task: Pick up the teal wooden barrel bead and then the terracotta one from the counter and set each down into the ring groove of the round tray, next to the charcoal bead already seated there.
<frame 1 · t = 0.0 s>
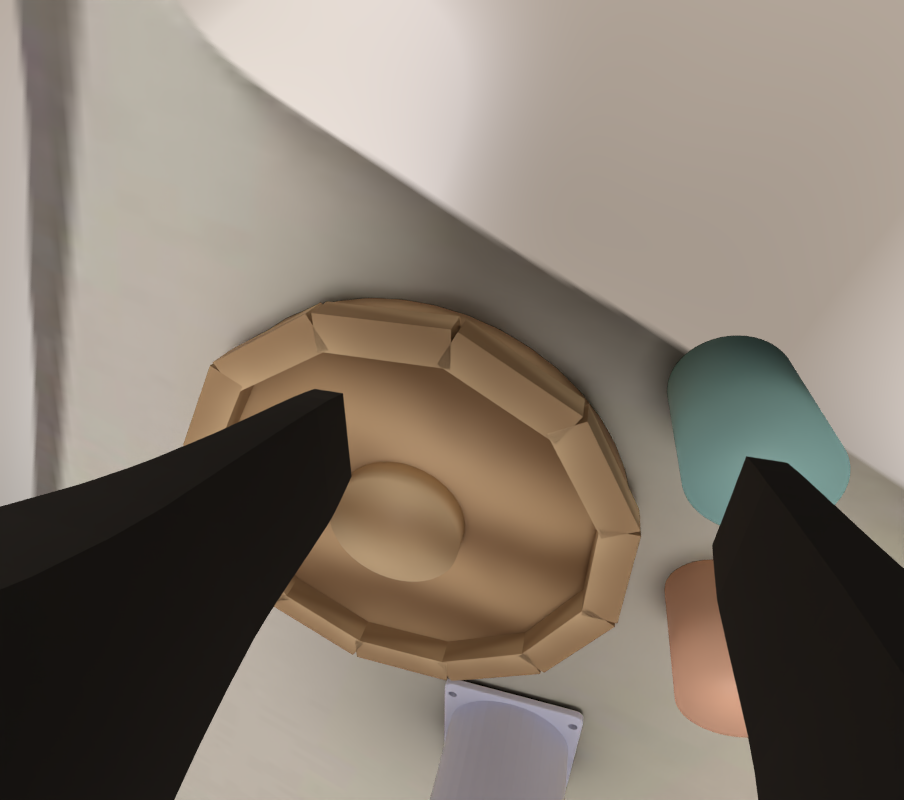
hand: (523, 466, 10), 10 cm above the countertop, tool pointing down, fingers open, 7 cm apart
tray: (408, 500, 25), on the countertop
bead teal: (728, 388, 18), on the countertop
bead terracotta: (713, 593, 23), on the countertop
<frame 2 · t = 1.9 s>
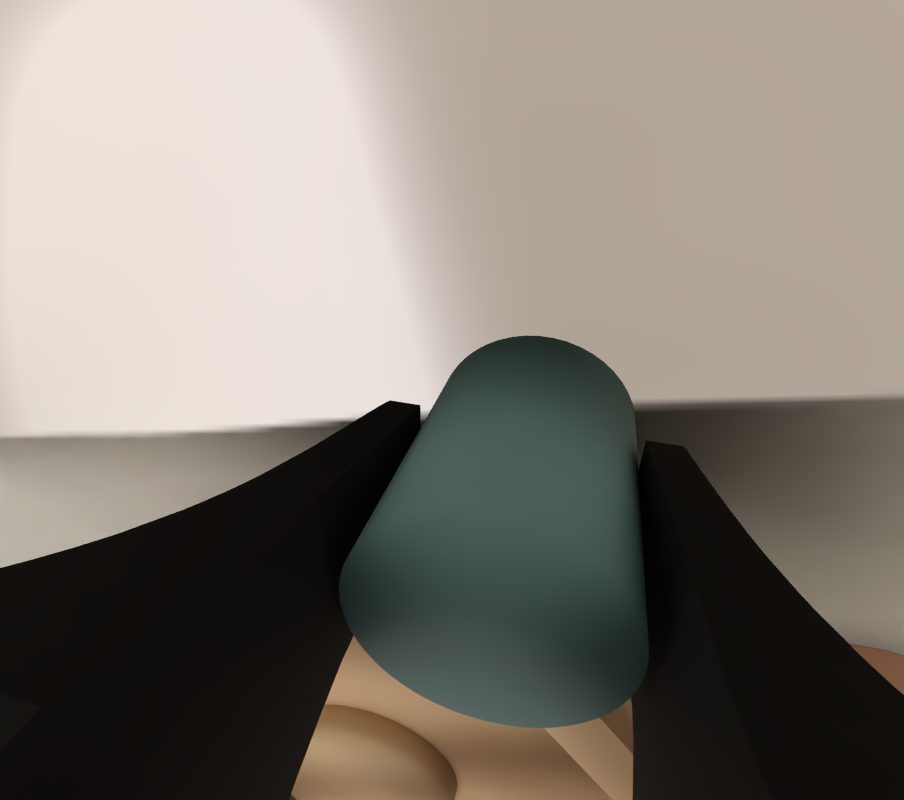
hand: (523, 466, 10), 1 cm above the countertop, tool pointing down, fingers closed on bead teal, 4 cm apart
tray: (383, 729, 19), on the countertop
bead teal: (533, 425, 11), on the countertop, touching gripper
bead terracotta: (842, 700, 13), on the countertop
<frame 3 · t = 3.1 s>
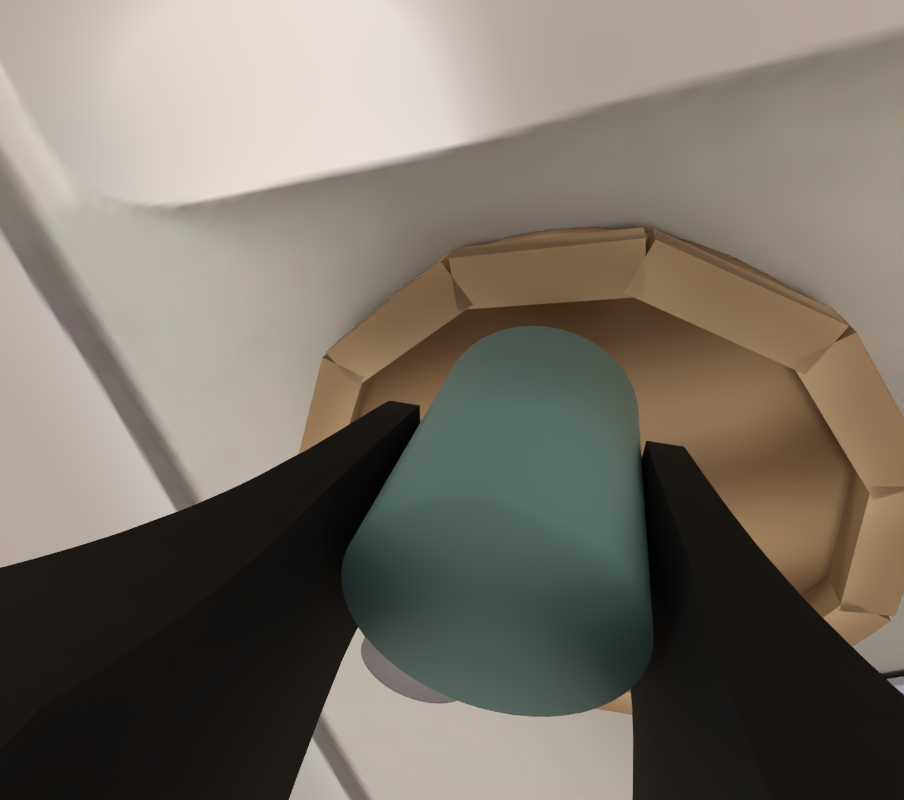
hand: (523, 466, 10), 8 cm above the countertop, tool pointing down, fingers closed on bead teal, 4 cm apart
tray: (570, 494, 20), on the countertop
bead charcoal: (452, 559, 22), point 1 cm above the countertop, touching tray
bead teal: (535, 416, 11), point 7 cm above the countertop, touching gripper
when the fingers open (3 cm above the countertop, at t = 4.7 s): bead teal stays where it is, resting on tray.
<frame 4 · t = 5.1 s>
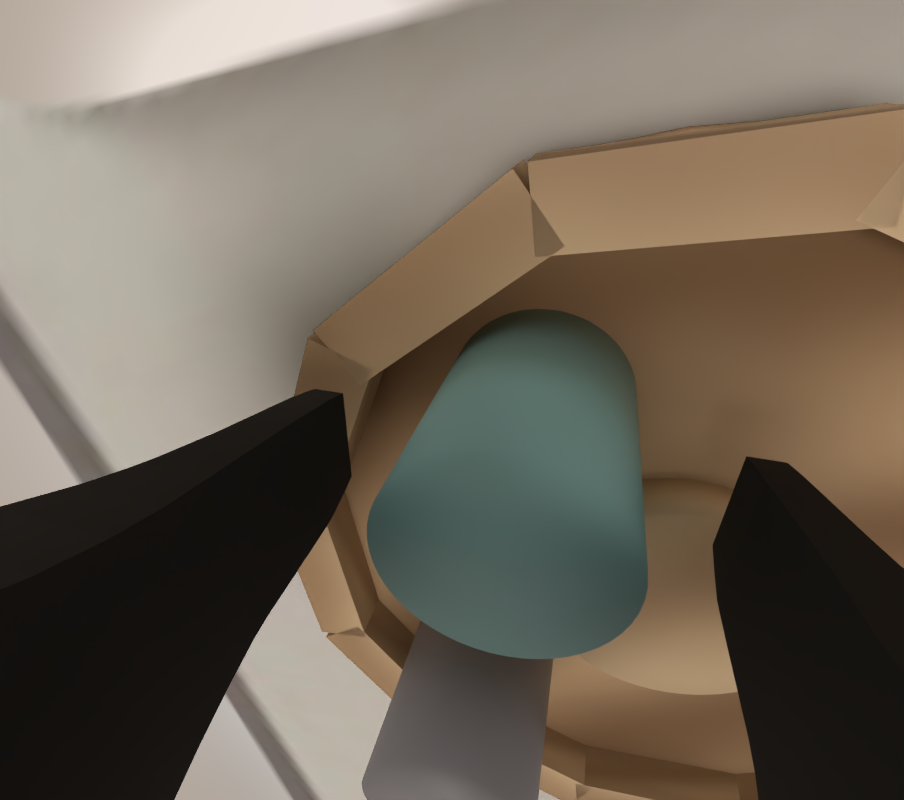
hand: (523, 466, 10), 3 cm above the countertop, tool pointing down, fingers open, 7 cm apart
tray: (666, 544, 14), on the countertop
bead charcoal: (488, 625, 16), point 1 cm above the countertop, touching tray
bead teal: (540, 395, 12), point 1 cm above the countertop, touching tray
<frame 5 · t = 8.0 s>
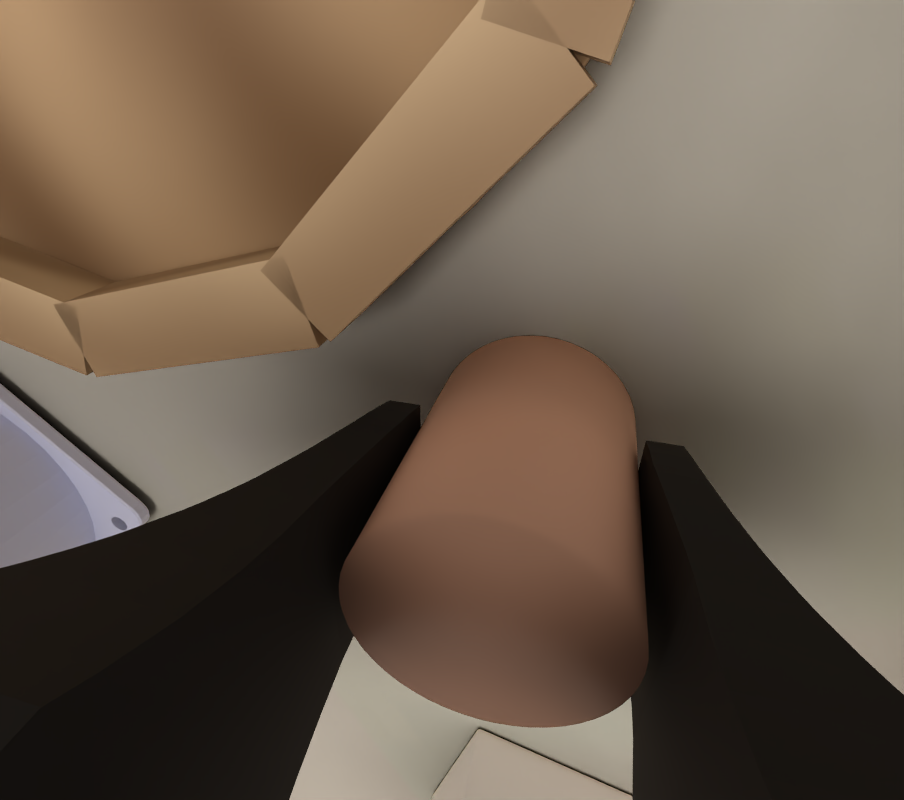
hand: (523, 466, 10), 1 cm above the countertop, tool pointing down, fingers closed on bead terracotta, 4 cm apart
bead terracotta: (533, 425, 11), on the countertop, touching gripper
milk: (531, 791, 19), on the countertop
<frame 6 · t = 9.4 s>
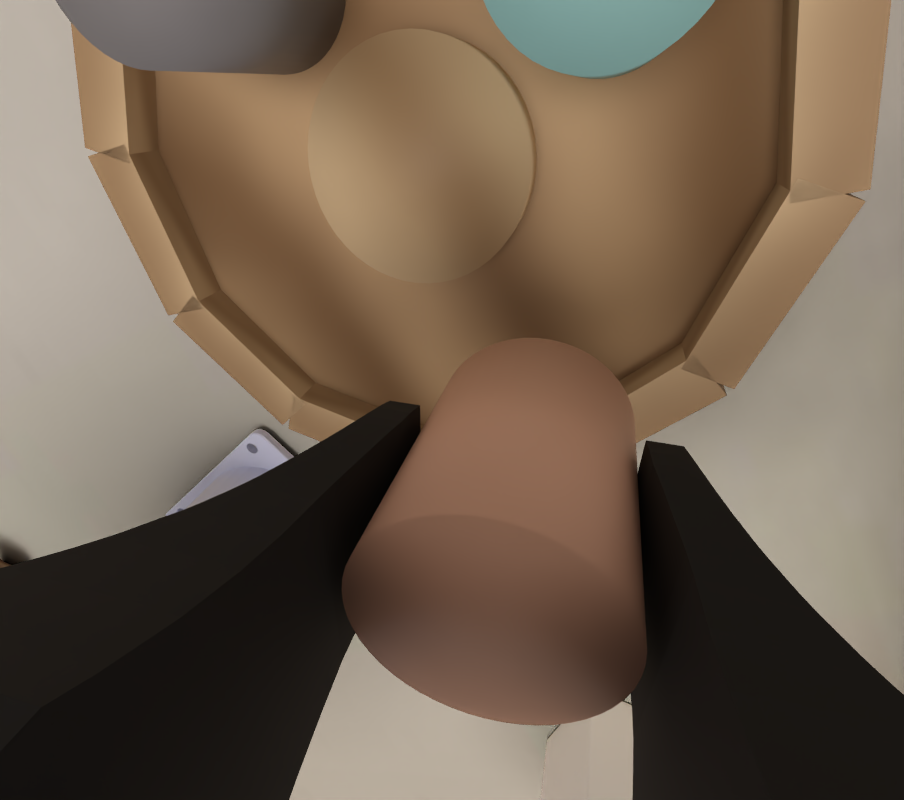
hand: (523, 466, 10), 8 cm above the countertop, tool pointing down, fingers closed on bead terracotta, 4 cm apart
tray: (438, 160, 15), on the countertop
bead terracotta: (533, 426, 11), point 7 cm above the countertop, touching gripper
milk: (621, 733, 27), on the countertop
when the fingers open (3 cm above the countertop, at t = 10.7 s): bead terracotta stays where it is, resting on tray.
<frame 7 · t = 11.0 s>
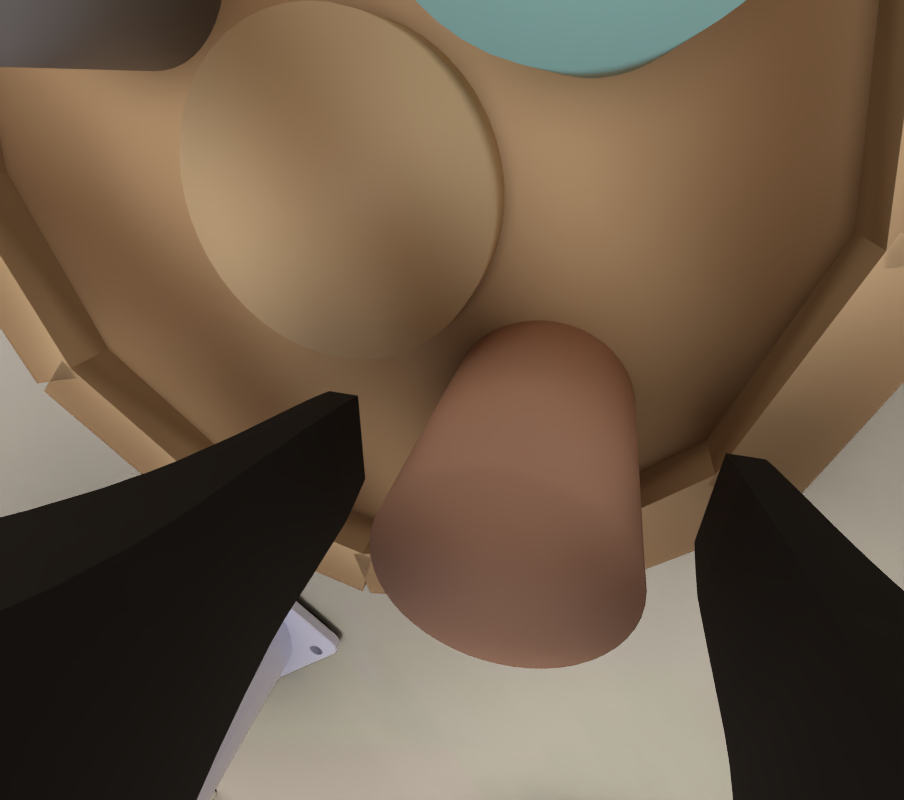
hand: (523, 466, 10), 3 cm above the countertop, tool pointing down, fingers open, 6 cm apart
tray: (374, 188, 11), on the countertop
bead terracotta: (540, 404, 12), point 1 cm above the countertop, touching tray
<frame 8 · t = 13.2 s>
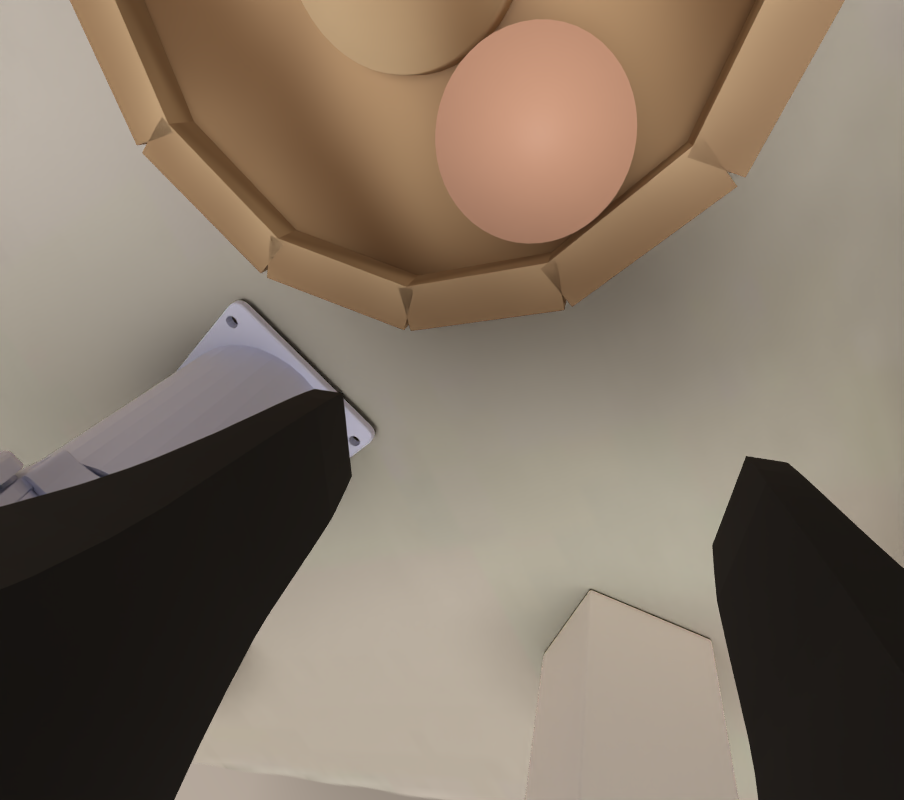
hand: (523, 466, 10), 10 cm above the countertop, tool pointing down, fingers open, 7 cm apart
bead terracotta: (555, 125, 15), point 1 cm above the countertop, touching tray
milk: (621, 643, 26), on the countertop
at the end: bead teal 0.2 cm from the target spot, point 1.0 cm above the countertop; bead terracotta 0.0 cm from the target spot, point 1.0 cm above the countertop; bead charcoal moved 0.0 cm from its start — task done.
